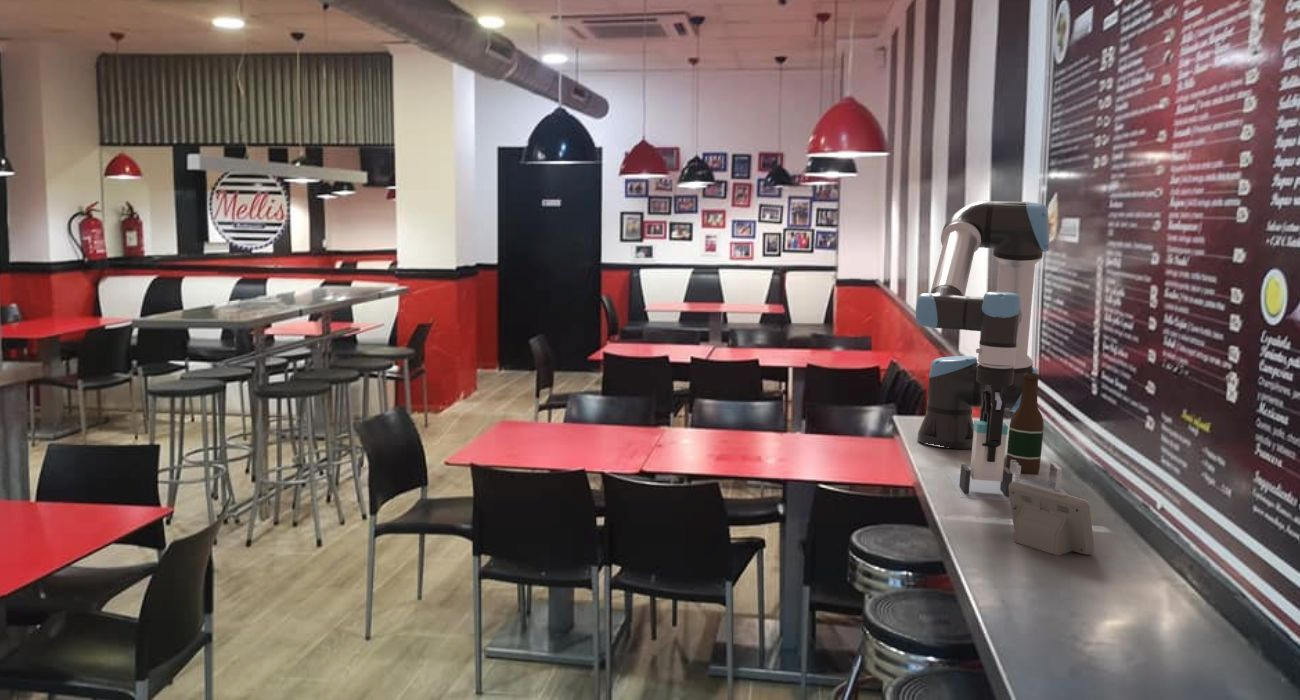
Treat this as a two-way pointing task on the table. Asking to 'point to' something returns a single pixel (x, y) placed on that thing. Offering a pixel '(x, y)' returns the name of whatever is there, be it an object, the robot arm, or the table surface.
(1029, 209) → the robot arm
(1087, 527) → the digital clock
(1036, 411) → the beer bottle
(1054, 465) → the port
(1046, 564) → the table surface
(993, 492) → the panel
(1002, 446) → the white and teal box
